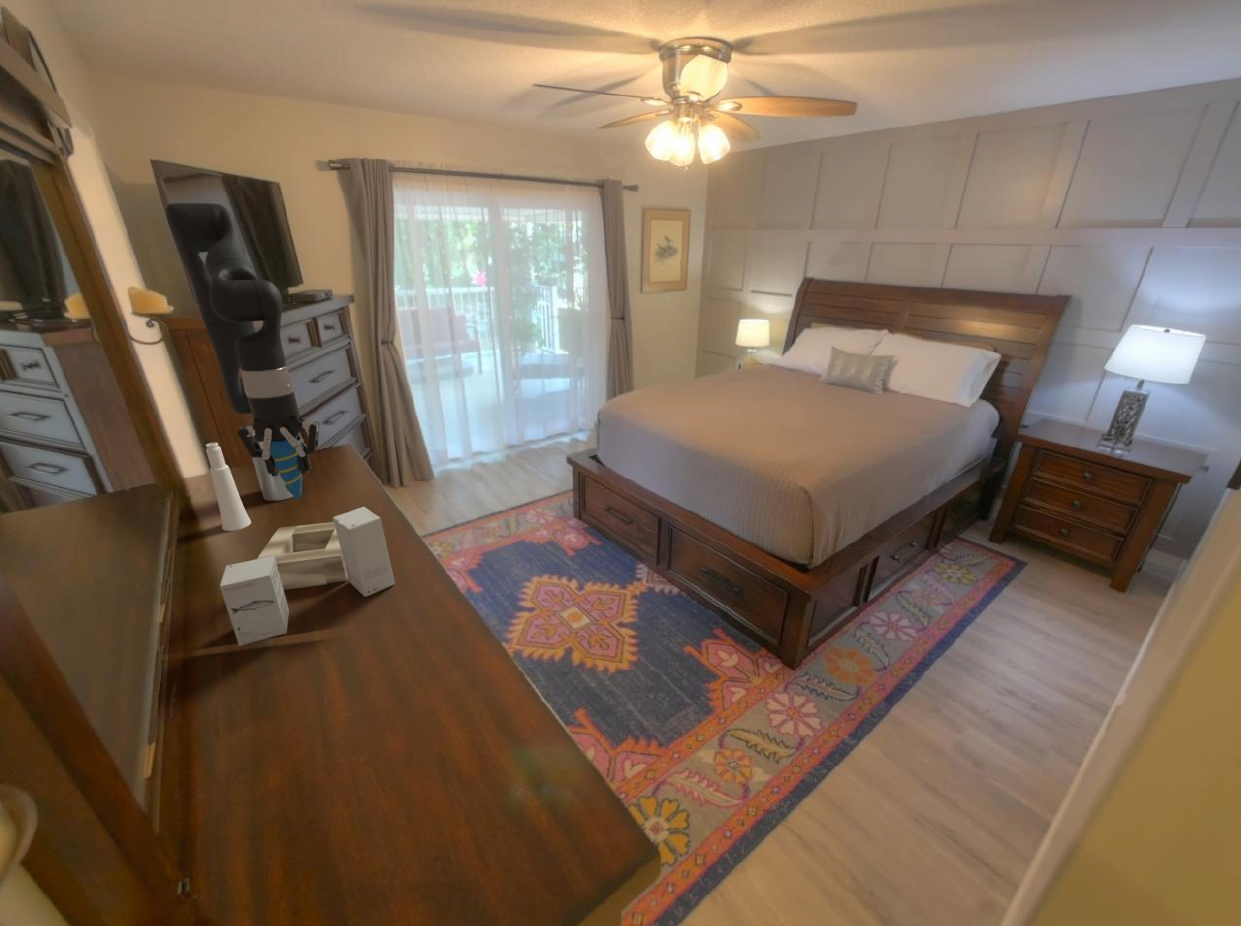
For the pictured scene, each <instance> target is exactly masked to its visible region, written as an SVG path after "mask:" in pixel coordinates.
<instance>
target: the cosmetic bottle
mask: <svg viewBox="0 0 1241 926" xmlns="http://www.w3.org/2000/svg"><path fill="white" fill-rule="evenodd" d="M205 447H206V449H205V451H206V454H207V458H208V461H209V464H210V465H209V466H210V468H209V473H210V477H211V480H212V481H211V482H212V485H213V489H214V492H215V495H216V500H217V501H216V502H217V504H218V509H219V514H220V520H221V529H222V530H223V531H226V532H232V531H238V530H242V529H245V528H246V527H249V526H250V525H251V523H252V520H251V519H250V517H249V515H248V513H247V511H246V508H245V507H244V504H243V501H242V499H241V497H240V494H239V491H238V488H237V485H236V482H235V480H234V477H233V475H232V472H231V469H230V467H229V465H228V464H226V461H225V458H224V455H223V452H222V448H221V447H220V446H219V443H218V442H210V443H207V444H205Z"/></svg>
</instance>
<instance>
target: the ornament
mask: <svg viewBox="0 0 1241 926" xmlns="http://www.w3.org/2000/svg"><path fill="white" fill-rule="evenodd" d="M295 439H296V438H295ZM296 441H297V439H296ZM269 451H270V454H271V456H272V457H273V458H274V459H275V460H274V464H275V466H276V467H277V468H278V470H279V471H280V476H281V478H282V479H283V481H284V482H285V487H286V489H287V490H288V491H289V492H290V493H291V494H292V495H293V496H294V497H293V498H294V499H295V500H300V498H301V495H302V491H301V488H302V486H303V476H302V474H301V473H302V470H301V466H300V461H299V455H298V453H297V452H296V448H295V447H292V445H291V444H289V442H288V441H287V440H283V441H272V442H271V446H270V450H269ZM302 489H303V488H302Z"/></svg>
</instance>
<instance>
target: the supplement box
mask: <svg viewBox="0 0 1241 926" xmlns="http://www.w3.org/2000/svg"><path fill="white" fill-rule="evenodd" d="M223 571H224V572H223V575H222V578H221V582H220V584H219V585H220V586H219V587H220V591H221V594H222V598H223V600H224V604H225V607H226V610H227V613H228V616H229V619H230V622H231V625H232V628H233V631H234V634H235V636H236V640H237V644H238V646H240V647H241V646H244V645H247V644H250V643H251V644H252V643H254V642H257V641H261V640H262V641H263V640H265V639H269V638H272V637H277V636H280V635H286V634H287V632H288V624H289V615H290V609H289V606H288V601H287V597H286V594H285V590H283V586H282V582H281V579H280V575H279V571H278V568H277V564H276V559H275V556H270V557H266V558H261V559H257V558H256V559H252V560H246V561H242V562H237V563H233V564H226V565H225V568H224V570H223Z"/></svg>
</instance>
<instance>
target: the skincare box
mask: <svg viewBox="0 0 1241 926" xmlns="http://www.w3.org/2000/svg"><path fill="white" fill-rule="evenodd" d="M332 522H334V525H335V528H336V532H337V536H338V540H339V543H340V547H341V551H342V555H343V558H344V562H345V566H346V570H347V573H348V580H349V581H348V582H349V583H350V584H351V585H352V587H354V588H355V589H356V590H357V591H358V592H359V593H360V594H361V595H363V597H364V598H367V597H369V596H371V595H374V594H376V593H379V592H381V591H383V590H386V589H387V588H389V587H392V586H393V585H395V584H396V582H395V577H394V573H393V569H392V564H391V560H390V554H389V550H388V546H387V541H386V537H385V533H384V528H383V524H382V518H381V517H380V516H378V515H377V514H375V513H374V512H372V511H371V510H369V509H368V508H367V507H365V506H362V507H359V508H356V509H353V510H350V511H347V512H345V513H342V514H338V515H335V516H333V517H332Z"/></svg>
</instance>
